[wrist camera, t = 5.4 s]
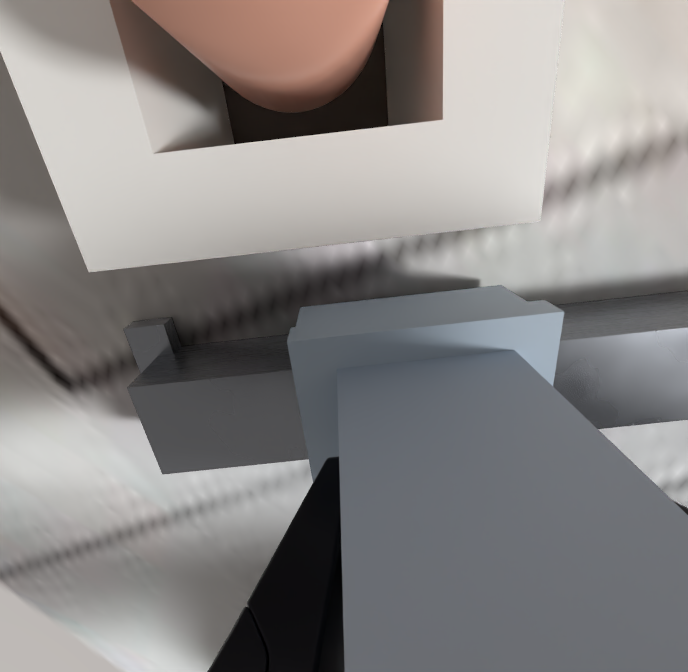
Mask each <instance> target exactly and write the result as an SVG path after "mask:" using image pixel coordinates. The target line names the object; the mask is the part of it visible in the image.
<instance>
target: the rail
mask: <svg viewBox="0 0 688 672" xmlns="http://www.w3.org/2000/svg"><path fill="white" fill-rule="evenodd" d="M554 306H556V307H558V308H559V309H561V310H563V311H564V317H563V324H562V331H561V337H560V344H559V350H558V357H557V363H556V370H555V377H554V383H553V387H554V388H555V389H556V390H557V391H558V392H559V393H560V394H561V395H562V396H563V397H564V398H565V399H567V400H568V401H569V402H570V403H571V404H572V405H573V406H574V407H575V408H576V409H577V410H578V411H579V412H580V413H581V414H582V415H583V416H584V417H585V418H586V419H588V420H589V421H590V422H591V423H592V424H593V425H594V426H595V427H596V428H597V429H603V428H612V427H622V426H631V425H641V424H651V423H660V422H670V421H679V420H688V291H681V292H672V293H663V294H653V295H644V296H635V297H626V298H617V299H608V300H599V301H589V302H580V303H571V304H562V305H554ZM124 332H125V334H126V337H127V340H128V342H129V345H130V347H131V350H132V353H133V355H134V358H135V360H136V363H137V366H138V368H139V371H140V373H141V374H140V375H139V376H138V377H137V378H136V379H135V380H134V381H133V382H132V383H131V384H130V385H129V386H128V387H127V389H128V391H129V394H130V396H131V399H132V401H133V404H134V406H135V408H136V411H137V413H138V416H139V418H140V421H141V423H142V426H143V428H144V430H145V433H146V435H147V438H148V440H149V443H150V445H151V447H152V450H153V452H154V455H155V457H156V460H157V462H158V465H159V467H160V469H161V472H162V474H171V473H180V472H190V471H200V470H209V469H219V468H228V467H238V466H248V465H257V464H267V463H276V462H286V461H296V460H305V459H309V457H308V452H307V447H306V441H305V436H304V431H303V425H302V420H301V415H300V409H299V404H298V399H297V393H296V388H295V383H294V377H293V372H292V367H291V361H290V356H289V351H288V345H287V339H288V336H289V334H288V335H279V336H270V337H260V338H251V339H242V340H233V341H224V342H215V343H206V344H196V345H187V346H181V345H180V342H179V338H178V335H177V332H176V329H175V326H174V323H173V320H172V317H170V318H161V319H152V320H143V321H134V322H132V323H131V324H130V325H128V326H127V327H125V328H124Z"/></svg>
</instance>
